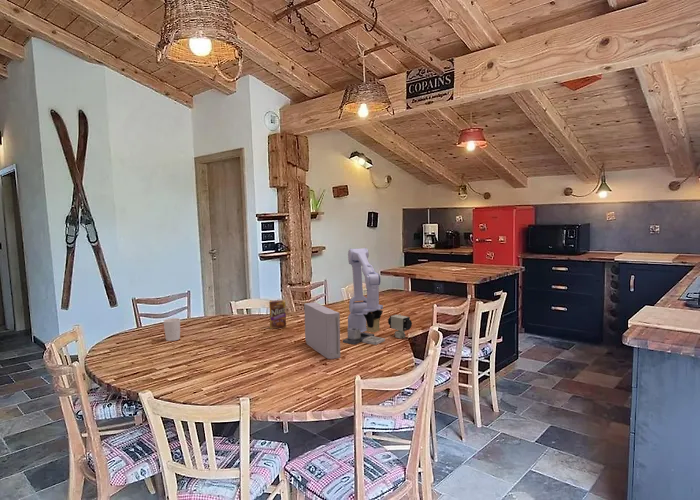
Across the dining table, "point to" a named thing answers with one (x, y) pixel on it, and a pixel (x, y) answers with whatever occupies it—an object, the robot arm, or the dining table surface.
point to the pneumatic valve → (400, 324)
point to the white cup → (172, 329)
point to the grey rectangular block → (354, 334)
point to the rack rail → (363, 336)
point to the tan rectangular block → (374, 325)
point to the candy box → (277, 314)
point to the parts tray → (373, 340)
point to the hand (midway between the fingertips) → (373, 326)
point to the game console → (322, 330)
